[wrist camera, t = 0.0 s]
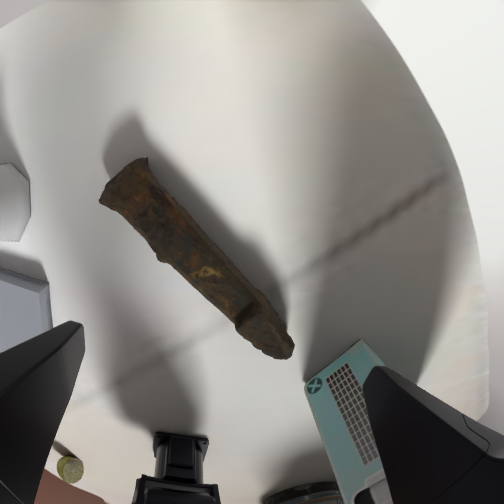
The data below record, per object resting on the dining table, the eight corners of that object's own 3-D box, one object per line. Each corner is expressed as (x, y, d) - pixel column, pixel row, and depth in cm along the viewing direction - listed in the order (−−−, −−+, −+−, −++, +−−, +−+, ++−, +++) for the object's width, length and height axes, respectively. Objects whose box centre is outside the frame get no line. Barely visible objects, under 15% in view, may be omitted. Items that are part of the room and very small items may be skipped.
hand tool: (109, 189, 20) (84, 201, 15) (147, 153, 19) (128, 155, 15) (261, 350, 26) (268, 385, 22) (296, 326, 26) (310, 359, 21)
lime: (65, 448, 30) (58, 472, 25) (91, 463, 31) (85, 487, 26) (56, 453, 30) (49, 475, 26) (80, 468, 32) (75, 490, 27)
